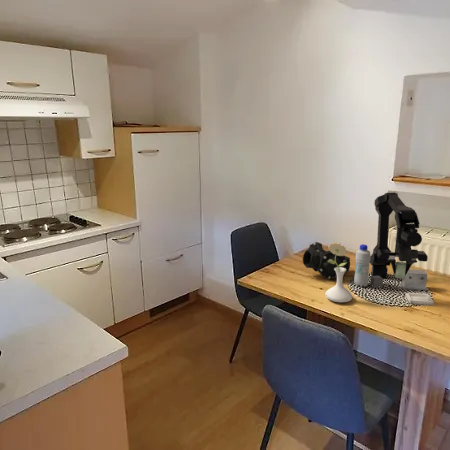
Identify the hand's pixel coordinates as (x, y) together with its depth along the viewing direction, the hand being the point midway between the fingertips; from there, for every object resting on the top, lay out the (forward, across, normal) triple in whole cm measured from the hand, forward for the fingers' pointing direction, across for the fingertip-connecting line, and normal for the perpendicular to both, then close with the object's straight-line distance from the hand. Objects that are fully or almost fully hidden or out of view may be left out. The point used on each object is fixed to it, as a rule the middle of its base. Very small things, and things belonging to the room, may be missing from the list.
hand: (399, 274), depth 166 cm
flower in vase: (+11, -26, -5) cm, 28 cm away
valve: (+11, -32, +27) cm, 44 cm away
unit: (+11, +9, +12) cm, 19 cm away
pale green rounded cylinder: (+1, 0, 0) cm, 1 cm away
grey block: (+11, -7, +13) cm, 18 cm away
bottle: (+11, -14, +12) cm, 21 cm away
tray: (+11, +8, -1) cm, 14 cm away
